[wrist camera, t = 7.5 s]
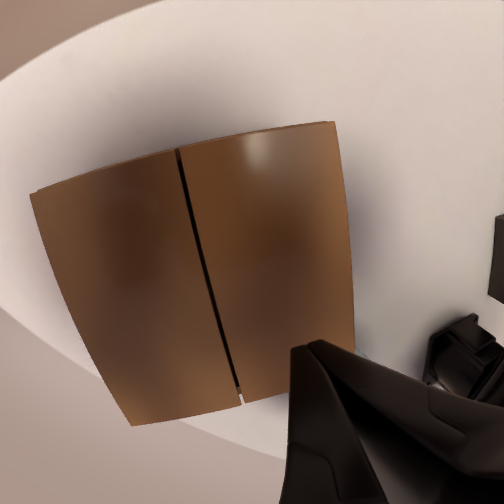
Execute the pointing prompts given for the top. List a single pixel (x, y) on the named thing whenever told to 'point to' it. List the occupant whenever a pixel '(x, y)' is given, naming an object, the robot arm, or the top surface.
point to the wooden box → (140, 286)
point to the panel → (498, 263)
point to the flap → (274, 246)
